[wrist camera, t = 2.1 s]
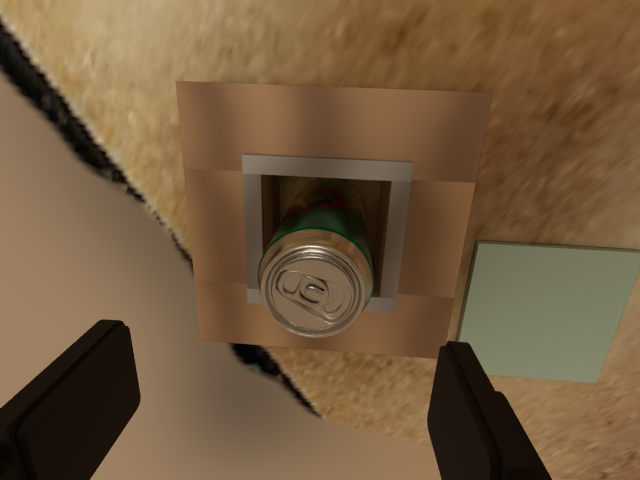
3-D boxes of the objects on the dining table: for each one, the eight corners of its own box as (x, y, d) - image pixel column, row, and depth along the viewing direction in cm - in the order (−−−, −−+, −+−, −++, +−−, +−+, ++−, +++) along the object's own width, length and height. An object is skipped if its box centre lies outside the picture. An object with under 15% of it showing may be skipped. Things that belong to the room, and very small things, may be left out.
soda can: (344, 255, 27) (341, 363, 16) (282, 226, 27) (233, 316, 16) (377, 195, 25) (399, 269, 14) (310, 163, 25) (279, 213, 14)
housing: (463, 94, 23) (497, 92, 18) (427, 316, 29) (444, 365, 23) (209, 84, 24) (170, 80, 19) (224, 302, 29) (196, 345, 24)
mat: (639, 249, 25) (645, 253, 25) (591, 377, 29) (596, 383, 29) (475, 240, 26) (478, 243, 26) (450, 366, 30) (452, 371, 29)
